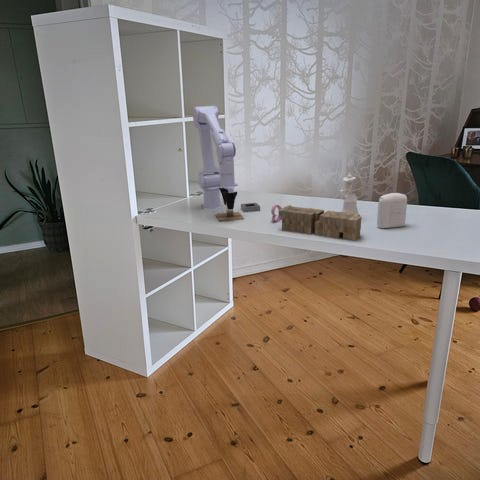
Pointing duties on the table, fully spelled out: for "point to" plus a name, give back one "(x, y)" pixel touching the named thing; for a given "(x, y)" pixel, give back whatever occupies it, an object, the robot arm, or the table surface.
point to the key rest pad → (224, 217)
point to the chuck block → (250, 207)
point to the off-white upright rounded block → (392, 210)
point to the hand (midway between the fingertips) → (228, 206)
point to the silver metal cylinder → (229, 212)
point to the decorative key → (274, 213)
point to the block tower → (321, 222)
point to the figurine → (349, 196)
